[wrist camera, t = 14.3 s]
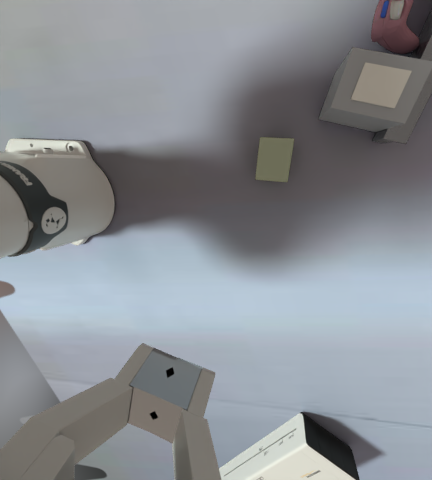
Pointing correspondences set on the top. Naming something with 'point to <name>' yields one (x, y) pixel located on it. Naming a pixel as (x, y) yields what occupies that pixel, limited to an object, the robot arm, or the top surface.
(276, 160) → the block
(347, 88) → the mounted modules
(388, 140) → the rail bar
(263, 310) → the top surface
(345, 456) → the laminator
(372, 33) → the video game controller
